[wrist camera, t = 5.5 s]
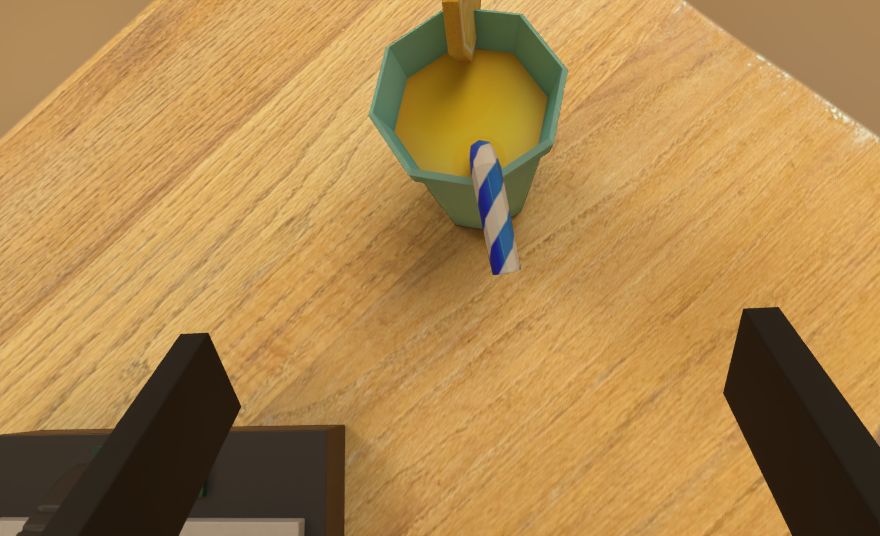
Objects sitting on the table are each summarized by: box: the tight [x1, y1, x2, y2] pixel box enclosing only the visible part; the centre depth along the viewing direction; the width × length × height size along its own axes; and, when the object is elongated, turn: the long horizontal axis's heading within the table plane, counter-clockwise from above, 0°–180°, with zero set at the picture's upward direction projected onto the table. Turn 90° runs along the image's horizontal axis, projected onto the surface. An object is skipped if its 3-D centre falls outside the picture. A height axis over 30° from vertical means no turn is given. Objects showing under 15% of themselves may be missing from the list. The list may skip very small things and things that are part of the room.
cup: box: [369, 0, 568, 275], centre depth 24 cm, size 14×8×15 cm, turn 10°
